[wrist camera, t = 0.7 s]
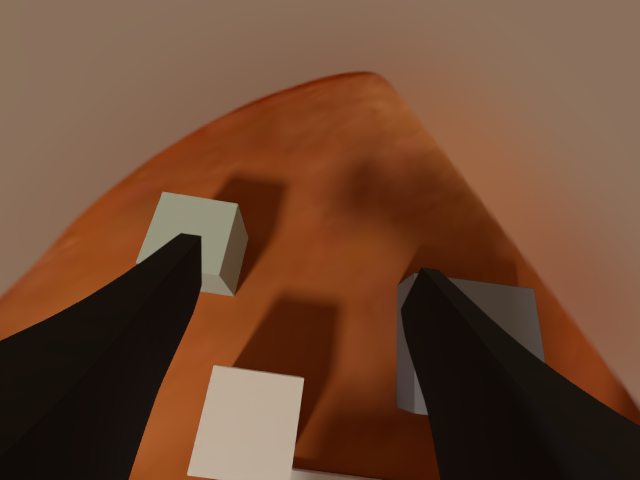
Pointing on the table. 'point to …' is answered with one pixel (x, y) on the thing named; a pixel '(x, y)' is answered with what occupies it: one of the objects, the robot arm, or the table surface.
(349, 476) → the tile
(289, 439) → the cream block
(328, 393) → the table surface
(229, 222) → the sage block
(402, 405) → the gray block
